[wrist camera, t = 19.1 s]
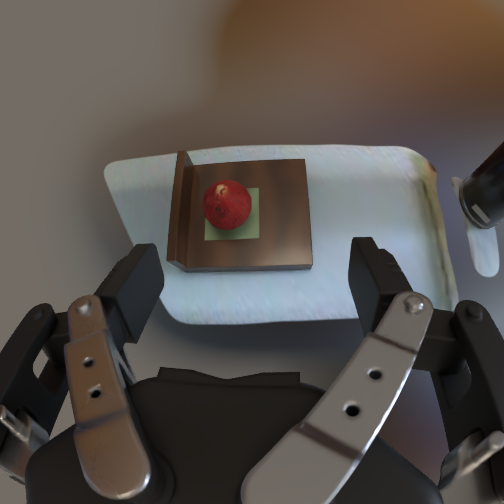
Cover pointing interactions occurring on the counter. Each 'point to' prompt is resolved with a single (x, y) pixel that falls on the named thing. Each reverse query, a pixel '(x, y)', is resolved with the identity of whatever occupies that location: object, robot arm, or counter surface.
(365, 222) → the counter surface
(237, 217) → the red pomegranate
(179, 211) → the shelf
